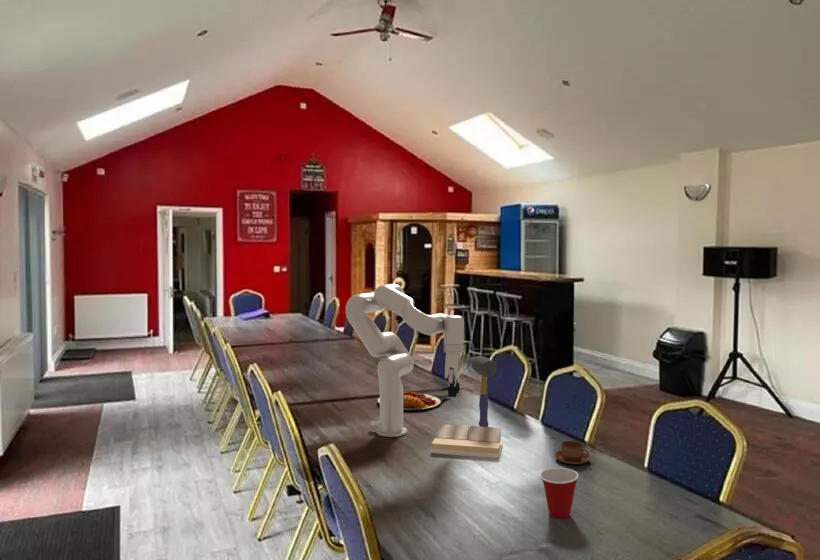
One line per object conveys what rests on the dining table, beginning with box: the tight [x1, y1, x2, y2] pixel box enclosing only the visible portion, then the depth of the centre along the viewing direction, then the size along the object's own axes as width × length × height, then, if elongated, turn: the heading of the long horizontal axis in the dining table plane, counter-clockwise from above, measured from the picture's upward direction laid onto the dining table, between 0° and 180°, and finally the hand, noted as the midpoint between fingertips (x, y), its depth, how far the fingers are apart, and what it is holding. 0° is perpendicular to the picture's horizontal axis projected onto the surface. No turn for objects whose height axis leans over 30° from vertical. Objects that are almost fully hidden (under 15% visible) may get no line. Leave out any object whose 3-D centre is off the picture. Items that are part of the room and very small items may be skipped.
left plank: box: [435, 423, 470, 440], centre depth 238 cm, size 12×7×2 cm
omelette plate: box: [377, 390, 450, 411], centre depth 301 cm, size 31×35×7 cm
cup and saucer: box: [554, 440, 590, 465], centre depth 221 cm, size 12×12×6 cm
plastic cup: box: [539, 467, 579, 519], centre depth 178 cm, size 11×11×12 cm
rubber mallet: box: [470, 355, 498, 427], centre depth 259 cm, size 12×8×30 cm, turn 16°
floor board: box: [430, 437, 503, 459], centre depth 234 cm, size 25×14×4 cm, turn 77°
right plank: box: [468, 425, 502, 443], centre depth 235 cm, size 12×7×2 cm
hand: (453, 394), depth 239 cm, fingers open, 5 cm apart
